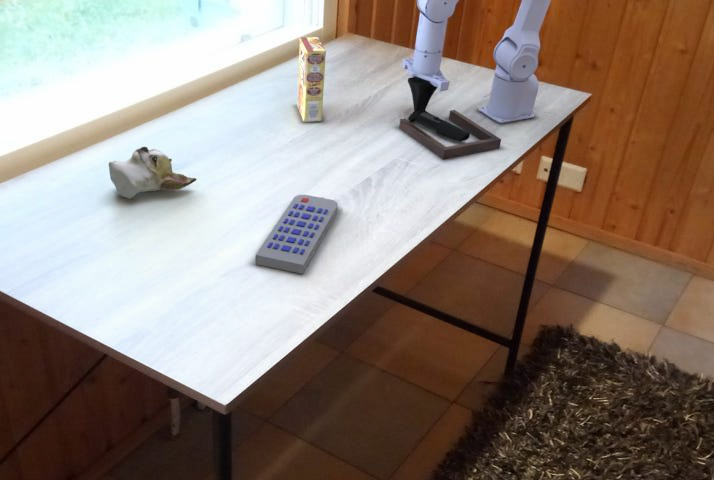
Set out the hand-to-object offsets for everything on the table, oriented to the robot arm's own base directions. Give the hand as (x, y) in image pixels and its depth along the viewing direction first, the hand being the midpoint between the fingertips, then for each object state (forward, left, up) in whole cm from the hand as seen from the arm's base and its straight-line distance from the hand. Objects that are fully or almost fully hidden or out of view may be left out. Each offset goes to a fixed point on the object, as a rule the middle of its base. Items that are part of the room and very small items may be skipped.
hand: (419, 111), depth 176 cm
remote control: (+46, +35, -2) cm, 58 cm away
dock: (0, +11, -1) cm, 11 cm away
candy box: (+21, -10, -2) cm, 24 cm away
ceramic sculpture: (+64, +10, -2) cm, 65 cm away
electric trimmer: (0, +8, -2) cm, 8 cm away
